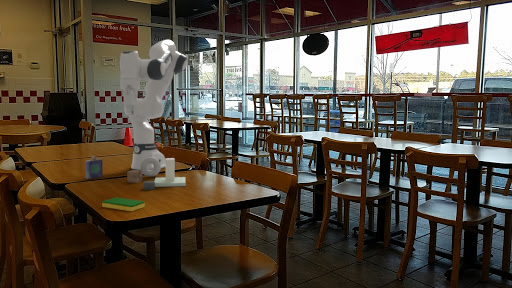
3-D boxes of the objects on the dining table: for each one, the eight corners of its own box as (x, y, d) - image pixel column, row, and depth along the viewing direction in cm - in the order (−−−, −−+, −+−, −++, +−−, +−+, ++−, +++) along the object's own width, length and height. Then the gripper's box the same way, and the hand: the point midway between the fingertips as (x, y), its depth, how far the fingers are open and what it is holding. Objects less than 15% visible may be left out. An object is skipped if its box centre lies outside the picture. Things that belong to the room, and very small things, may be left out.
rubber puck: (148, 187, 182) (148, 180, 182) (157, 188, 180) (157, 181, 180) (140, 189, 178) (140, 182, 178) (149, 190, 176) (149, 183, 175)
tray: (155, 180, 197) (155, 177, 197) (185, 180, 199) (185, 177, 199) (153, 186, 183) (153, 183, 183) (185, 186, 186) (185, 182, 186)
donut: (160, 175, 211) (159, 156, 210) (161, 176, 208) (161, 157, 207) (140, 176, 207) (139, 157, 206) (141, 177, 204) (140, 157, 203)
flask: (87, 179, 197) (86, 157, 196) (83, 179, 199) (83, 157, 198) (104, 177, 205) (103, 155, 204) (100, 176, 207) (99, 155, 206)
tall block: (165, 179, 193) (165, 158, 192) (174, 179, 194) (174, 158, 193) (165, 181, 189) (165, 159, 188) (174, 180, 190) (174, 159, 189)
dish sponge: (131, 212, 143) (131, 205, 143) (101, 207, 149) (101, 201, 148) (145, 207, 149) (145, 201, 149) (115, 203, 155) (115, 197, 155)
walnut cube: (132, 180, 198) (132, 170, 197) (142, 180, 197) (142, 170, 196) (127, 182, 193) (127, 171, 192) (137, 182, 192) (136, 172, 191)
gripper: (134, 84, 183) (135, 116, 184) (139, 86, 203) (139, 114, 204) (119, 84, 182) (120, 116, 183) (126, 86, 202) (126, 114, 203)
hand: (130, 115), depth 194 cm, fingers open, 8 cm apart
